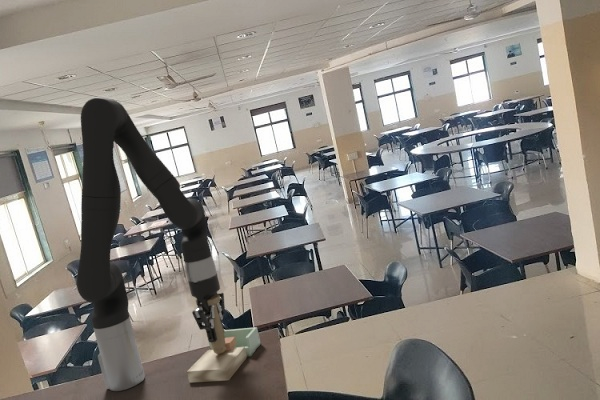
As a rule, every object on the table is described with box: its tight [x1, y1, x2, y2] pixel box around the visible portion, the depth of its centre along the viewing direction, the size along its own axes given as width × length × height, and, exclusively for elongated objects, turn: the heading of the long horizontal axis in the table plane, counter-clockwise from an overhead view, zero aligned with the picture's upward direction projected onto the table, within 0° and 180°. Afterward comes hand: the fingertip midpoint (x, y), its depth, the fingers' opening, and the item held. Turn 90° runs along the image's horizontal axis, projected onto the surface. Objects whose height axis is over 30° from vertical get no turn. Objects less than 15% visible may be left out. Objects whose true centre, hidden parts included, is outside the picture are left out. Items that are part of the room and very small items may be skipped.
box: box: [208, 326, 262, 358], centre depth 142 cm, size 12×8×5 cm, turn 74°
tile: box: [225, 337, 237, 351], centre depth 138 cm, size 4×4×2 cm
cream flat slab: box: [186, 347, 248, 384], centre depth 132 cm, size 11×12×3 cm
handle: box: [195, 294, 226, 354], centre depth 134 cm, size 5×6×15 cm
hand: (216, 337), depth 134 cm, fingers closed on handle, 4 cm apart
